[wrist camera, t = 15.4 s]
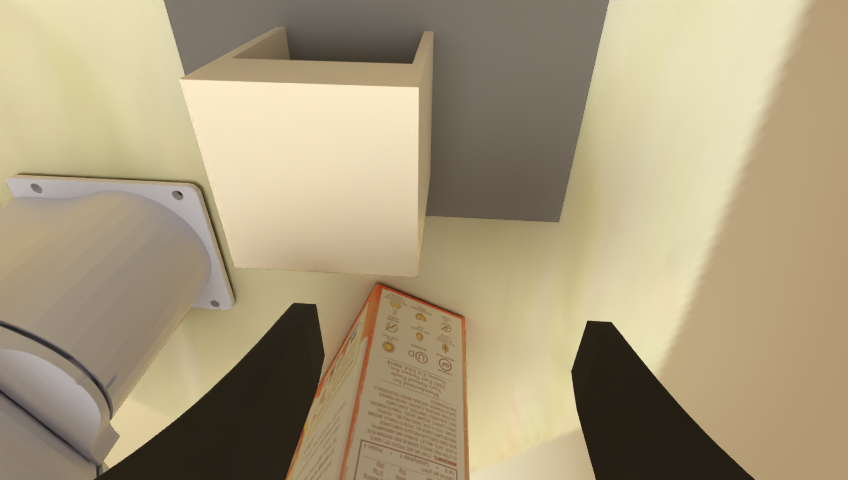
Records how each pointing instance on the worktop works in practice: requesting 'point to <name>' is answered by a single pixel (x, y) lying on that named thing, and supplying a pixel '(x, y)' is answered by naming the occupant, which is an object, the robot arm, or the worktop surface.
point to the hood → (316, 157)
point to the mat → (446, 81)
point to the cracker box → (391, 398)
